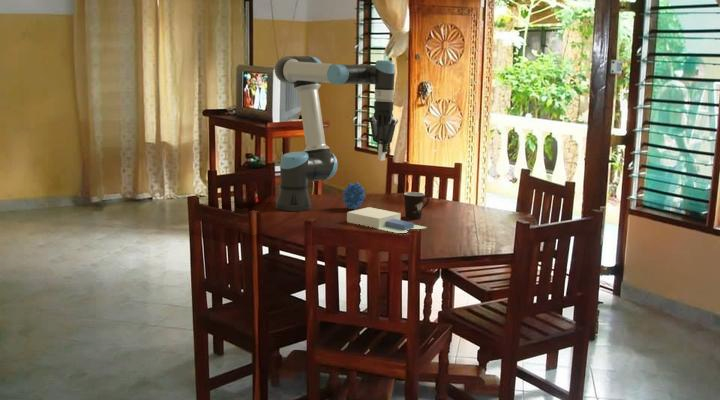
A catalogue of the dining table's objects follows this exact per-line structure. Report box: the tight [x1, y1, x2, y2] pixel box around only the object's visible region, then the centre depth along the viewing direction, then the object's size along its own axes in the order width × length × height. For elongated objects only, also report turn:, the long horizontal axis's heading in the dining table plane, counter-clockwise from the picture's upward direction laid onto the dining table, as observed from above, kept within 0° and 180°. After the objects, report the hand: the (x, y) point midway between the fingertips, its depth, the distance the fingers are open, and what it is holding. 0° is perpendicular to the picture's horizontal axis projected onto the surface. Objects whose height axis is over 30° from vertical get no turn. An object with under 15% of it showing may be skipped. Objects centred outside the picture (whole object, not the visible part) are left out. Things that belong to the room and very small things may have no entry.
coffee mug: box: [403, 191, 430, 221], centre depth 316 cm, size 12×9×10 cm
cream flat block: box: [346, 206, 402, 230], centre depth 306 cm, size 16×14×4 cm
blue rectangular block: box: [386, 219, 415, 230], centre depth 298 cm, size 9×6×2 cm, turn 50°
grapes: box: [342, 182, 366, 211], centre depth 329 cm, size 12×7×12 cm, turn 53°
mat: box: [377, 224, 428, 234], centre depth 298 cm, size 12×16×1 cm
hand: (381, 160), depth 306 cm, fingers closed
